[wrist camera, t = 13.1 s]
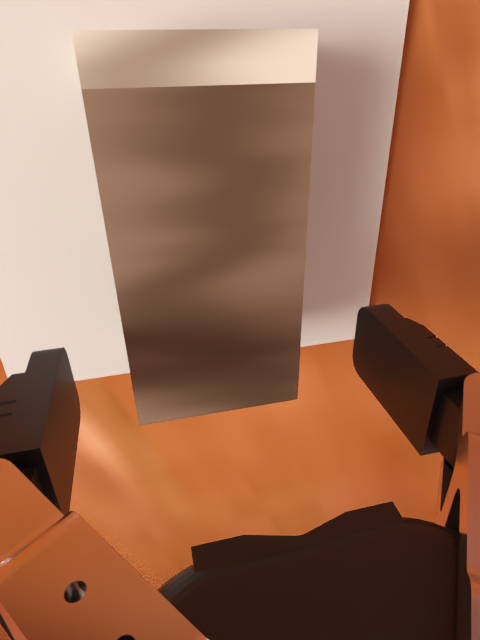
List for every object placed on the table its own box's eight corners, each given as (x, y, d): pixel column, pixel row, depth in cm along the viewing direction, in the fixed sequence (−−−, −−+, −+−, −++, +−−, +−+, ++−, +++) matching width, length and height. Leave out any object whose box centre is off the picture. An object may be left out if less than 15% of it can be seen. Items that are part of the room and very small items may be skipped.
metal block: (139, 425, 13) (71, 30, 8) (135, 339, 18) (88, 43, 13) (297, 399, 14) (318, 28, 9) (257, 323, 19) (257, 41, 14)
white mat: (15, 381, 18) (12, 390, 18) (-123, -19, 12) (-134, -23, 11) (358, 330, 21) (364, 337, 20) (401, -17, 14) (412, -20, 14)
